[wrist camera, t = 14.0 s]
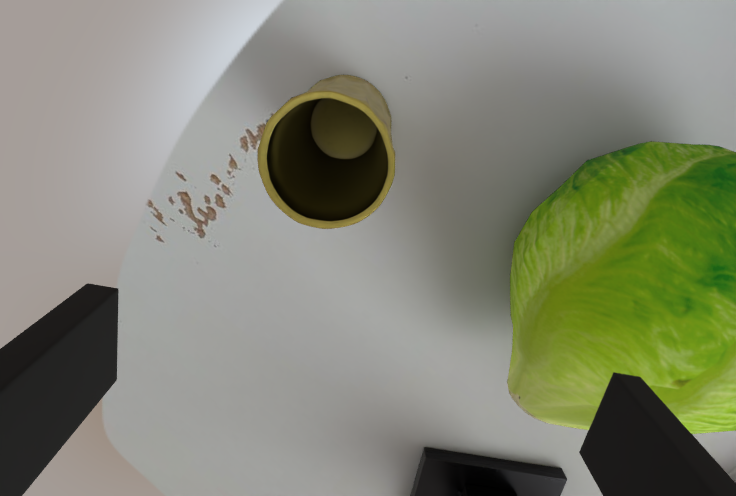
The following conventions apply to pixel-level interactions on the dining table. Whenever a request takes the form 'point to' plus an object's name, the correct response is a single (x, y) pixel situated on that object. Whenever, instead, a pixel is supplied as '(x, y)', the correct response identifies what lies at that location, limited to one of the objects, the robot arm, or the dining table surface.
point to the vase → (329, 153)
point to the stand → (483, 476)
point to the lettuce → (630, 287)
